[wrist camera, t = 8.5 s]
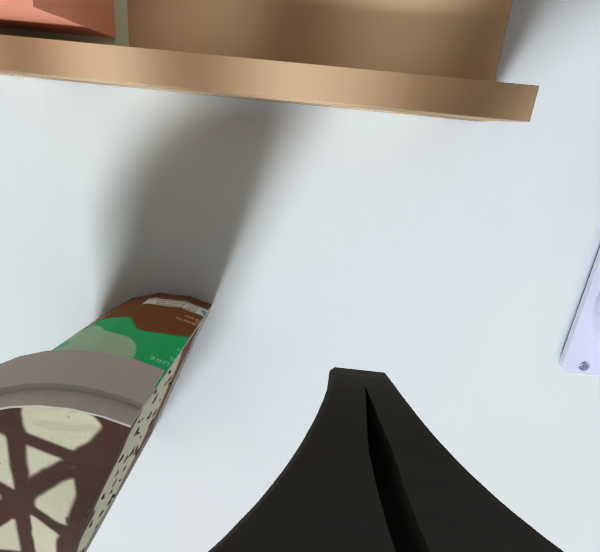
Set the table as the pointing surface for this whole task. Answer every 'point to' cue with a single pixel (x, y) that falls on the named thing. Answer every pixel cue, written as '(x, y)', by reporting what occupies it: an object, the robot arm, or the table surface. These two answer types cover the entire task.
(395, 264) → the table surface
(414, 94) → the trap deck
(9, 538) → the food container
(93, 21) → the clay-red block
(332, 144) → the table surface
